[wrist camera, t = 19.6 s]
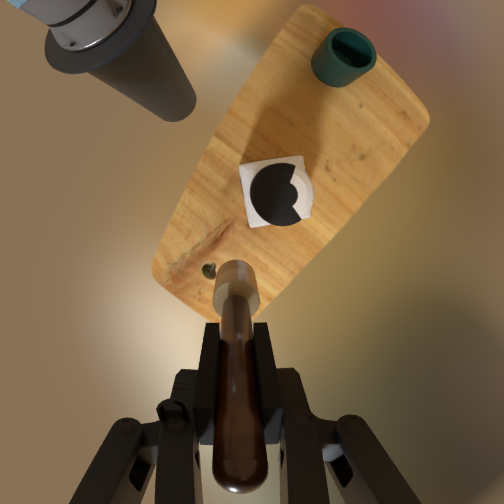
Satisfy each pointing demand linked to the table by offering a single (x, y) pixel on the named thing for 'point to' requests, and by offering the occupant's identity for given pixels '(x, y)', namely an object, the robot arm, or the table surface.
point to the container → (276, 191)
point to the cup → (343, 57)
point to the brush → (237, 384)
